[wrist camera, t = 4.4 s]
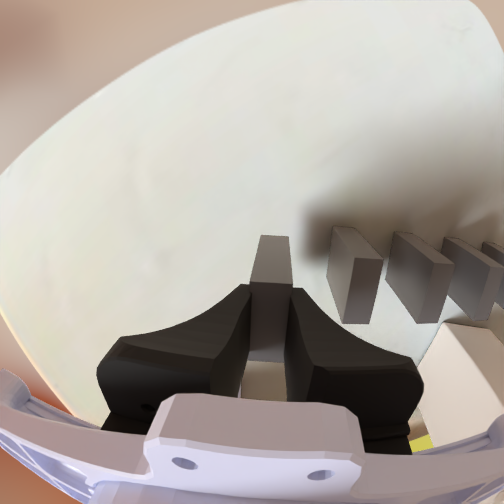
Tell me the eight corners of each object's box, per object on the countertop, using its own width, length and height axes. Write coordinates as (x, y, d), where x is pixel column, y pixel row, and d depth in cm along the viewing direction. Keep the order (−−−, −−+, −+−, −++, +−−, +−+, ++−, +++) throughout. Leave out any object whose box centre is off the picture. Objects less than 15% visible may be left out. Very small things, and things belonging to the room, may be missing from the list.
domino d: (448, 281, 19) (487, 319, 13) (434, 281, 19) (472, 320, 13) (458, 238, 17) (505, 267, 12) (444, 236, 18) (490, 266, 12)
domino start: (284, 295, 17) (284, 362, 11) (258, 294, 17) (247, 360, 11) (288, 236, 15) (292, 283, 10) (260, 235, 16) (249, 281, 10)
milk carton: (488, 327, 20) (583, 463, 2) (455, 382, 22) (517, 520, 4) (441, 320, 20) (548, 500, 2) (406, 381, 22) (462, 553, 4)
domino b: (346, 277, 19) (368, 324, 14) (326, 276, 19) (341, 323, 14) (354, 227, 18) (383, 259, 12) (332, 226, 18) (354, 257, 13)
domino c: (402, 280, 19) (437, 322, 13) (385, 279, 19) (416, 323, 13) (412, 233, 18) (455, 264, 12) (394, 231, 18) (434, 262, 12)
